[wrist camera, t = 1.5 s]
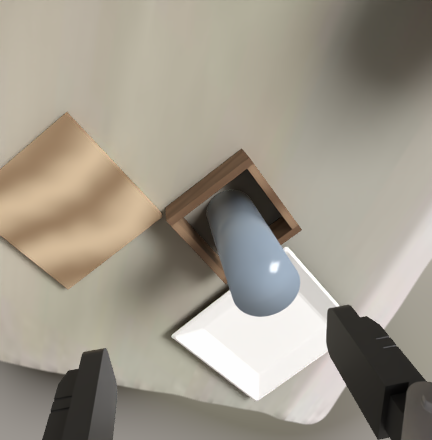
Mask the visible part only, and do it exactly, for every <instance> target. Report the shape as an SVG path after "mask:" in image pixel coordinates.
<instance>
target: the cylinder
mask: <svg viewBox="0 0 432 440" xmlns="http://www.w3.org/2000/svg"><path fill="white" fill-rule="evenodd" d="M206 216H207V220H208V223H209V227H210V230H211V233H212V236H213V239H214V242H215V245H216V248H217V251H218V255H219V258H220V261H221V264H222V267H223V270H224V273H225V276H226V279H227V283H228V286H229V289H230V292H231V295H232V298H233V301H234V303H235V305H236V306H237V307H238V309H240V310H241V311H242V312H244V313H246V314H248V315H251V316H256V317H265V316H270V315H274V314H276V313H279V312H281V311H282V310H284V309H285V308H287V307H288V306H289V305H290V304H291V303H292V302H293V301H294V299H295V298H296V296H297V294H298V292H299V289H300V276H299V274H298V271H297V270H296V268H295V267H294V265H293V264H292V262H291V260H290V259H289V257H288V256H287V254H286V253H285V251H284V250H283V248H282V247H281V245H280V243H279V242H278V240H277V239H276V237H275V236H274V234H273V233H272V231H271V230H270V228H269V226H268V225H267V223H266V222H265V220H264V219H263V217H262V216H261V214H260V213H259V211H258V209H257V208H256V206H255V205H254V203H253V202H252V200H251V199H250V197H249V196H248V195H247V194H245V193H244V192H242V191H239V190H226V191H223V192H220V193H219V194H217V195H216V196H214V197H213V198H212V200H211V201H210V203H209V204H208V207H207V212H206Z"/></svg>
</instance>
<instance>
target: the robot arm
mask: <svg viewBox="0 0 432 440" xmlns="http://www.w3.org/2000/svg"><path fill="white" fill-rule="evenodd" d="M326 344H327V349H328V352H329V355H330V357H331V359H332V361H333V362H334V364H335V366H336V368H337V369H338V371H339V373H340V375H341V376H342V378H343V380H344V382H345V383H346V385H347V387H348V388H349V390H350V392H351V393H352V395H353V397H354V399H355V401H356V402H357V404H358V406H359V408H360V409H361V411H362V413H363V415H364V416H365V418H366V420H367V422H368V423H369V425H370V427H371V428H372V430H373V432H374V434H375V436H376V437H377V439H378V440H379V439H384V438H389V437H390V438H391V440H432V382H427V381H426V380H425V379H424V378H423V377H422V375H421V374H420V373H419V372H418V371H417V369H416V368H415V367H414V366H413V365H412V364H411V362H410V361H409V360H408V359H407V357H406V356H405V355H404V354H403V353H402V351H401V350H400V349H399V348H398V347H397V346H396V344H395V343H394V342H393V340H392V339H391V338H389V336H388V334H387V333H386V332H385V331H384V329H383V328H382V327H381V326H380V325H379V324H378V323H376V322H375V321H373V320H372V319H370V318H368V317H367V316H366V317H359V316H358V314H357V313H356V312H355V310H354V309H353V308H352V307H351V306H350V305H344V306H338V307H333V308H329V309H328V311H327V329H326ZM116 403H117V384H116V379H115V375H114V372H113V368H112V365H111V361H110V358H109V354H108V351H107V349H106V348H104V349H98V350H92V351H87V352H83V354H82V357H81V361H80V365H79V369H75V370H70V371H68V372H67V373H66V375H65V376H64V377H63V379H62V380H61V382H60V383H59V384H58V388H57V391H56V394H55V398H54V402H53V405H52V408H51V414H50V415H49V419H48V422H47V426H46V429H45V432H44V436H43V439H42V440H113V431H114V422H115V413H116Z"/></svg>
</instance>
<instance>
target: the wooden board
mask: <svg viewBox="0 0 432 440" xmlns="http://www.w3.org/2000/svg"><path fill="white" fill-rule="evenodd" d="M160 218H162V213H161V212H160V211H159V210H158V209H157V207H156V206H155V205H154V204H153V203H152V202H151V201H150V200H149V199H148V198H147V197H146V196H145V195H144V194H143V193H142V191H141V190H140V189H139V188H138V187H137V186H136V185H135V184H134V183H133V182H132V181H131V180H130V179H129V178H128V177H127V175H126V174H125V173H124V172H123V171H122V170H121V169H120V168H119V167H118V166H117V165H116V164H115V163H114V162H113V161H112V159H111V158H110V157H109V156H108V155H107V154H106V153H105V152H104V151H103V150H102V149H101V148H100V147H99V146H98V145H97V143H96V142H95V141H94V140H93V139H92V138H91V137H90V136H89V135H88V134H87V133H86V132H85V131H84V130H83V129H82V127H81V126H80V125H79V124H78V123H77V122H76V121H75V120H74V119H73V118H72V117H71V116H70V115H69V114H68V113H67V112H66V113H65V114H64V115H63V116H62V117H61V118H59V119H58V120H57V121H56V122H55V123H54V124H52V125H51V126H50V127H49V128H48V129H47V130H45V131H44V132H43V133H42V134H41V135H40V136H38V137H37V138H36V139H35V140H34V141H33V142H31V143H30V144H29V145H28V146H27V147H26V148H24V149H23V150H22V151H21V152H20V153H19V154H18V155H16V156H15V157H14V158H13V159H12V160H11V161H9V162H8V163H7V164H6V165H5V166H4V167H2V168H1V169H0V235H1V236H2V237H3V238H4V239H6V240H7V241H8V242H9V243H11V244H12V245H13V246H14V247H16V248H17V249H18V250H19V251H21V252H22V253H23V254H24V255H26V256H27V257H28V258H29V259H31V260H32V261H33V262H34V263H36V264H37V265H38V266H39V267H41V268H42V269H43V270H44V271H46V272H47V273H48V274H49V275H51V276H52V277H53V278H54V279H56V280H57V281H58V282H59V283H61V284H62V285H63V286H64V287H66V288H67V289H69V288H71V287H72V286H73V285H75V284H76V283H77V282H79V281H80V280H81V279H82V278H84V277H85V276H86V275H88V274H89V273H90V272H92V271H93V270H94V269H95V268H97V267H98V266H99V265H101V264H102V263H103V262H105V261H106V260H107V259H108V258H110V257H111V256H112V255H114V254H115V253H116V252H118V251H119V250H120V249H121V248H123V247H124V246H125V245H127V244H128V243H129V242H131V241H132V240H133V239H134V238H136V237H137V236H138V235H140V234H141V233H142V232H144V231H145V230H146V229H147V228H149V227H150V226H151V225H153V224H154V223H155V222H157V221H158V220H159V219H160Z"/></svg>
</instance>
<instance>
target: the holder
mask: <svg viewBox="0 0 432 440" xmlns="http://www.w3.org/2000/svg"><path fill="white" fill-rule="evenodd" d="M246 169H248V171H249V172H250V173H251V175H252V176H253V177H254V179H255V180H256V181H257V183H258V184H259V185H260V187H261V188H262V189H263V191H264V192H265V194H266V195H267V196H268V198H269V199H270V200H271V202H272V203H273V204H274V206H275V207H276V208H277V210H278V211H279V212H280V214H281V215H282V217H281V218H279V219H278V220H277V221H275V222H274V223H272V224H271V225H270V226H269V228H270V230H271V231H272V233H273V234H274V236H275V237H276V239H277V240H278V242H279V243H280V245H282V244H283V243H284V242H286V241H287V240H289V239H290V238H291V237H293V236H294V235H296V234H297V233H298V232H300V231H301V230H302V229H301V228H300V227H299V225H298V224H297V222H296V221H295V220H294V218H293V217H292V216H291V214H290V213H289V211H288V210H287V209H286V207H285V206H284V205H283V203H282V202H281V200H280V199H279V198H278V196H277V195H276V194H275V192H274V191H273V189H272V188H271V187H270V185H269V184H268V183H267V181H266V180H265V178H264V177H263V176H262V174H261V173H260V172H259V170H258V169H257V167H256V166H255V165H254V163H253V162H252V161H251V159H250V158H249V157H248V155H247V154H246V153H245V152H244V151H243V150H242V149H241V150H239V151H238V152H237V153H235V154H234V155H233V156H232V157H230V158H229V159H228V160H226V161H225V162H224V163H223V164H221V165H220V166H219V167H217V168H216V169H215V170H213V171H212V172H211V173H210V174H208V175H207V176H206V177H204V178H203V179H202V180H200V181H199V182H198V183H197V184H195V185H194V186H193V187H191V188H190V189H189V190H188V191H186V192H185V193H184V194H182V195H181V196H180V197H178V198H177V199H176V200H175V201H173V202H172V203H171V204H169V205H168V206H167V207H166V208H165V211H166V221H167V222H168V223H169V224H170V225H171V227H172V228H173V229H174V230H175V231H176V232H177V233H178V234H179V235H180V236H181V237H182V238H183V239H184V240H185V241H186V242H187V244H188V245H189V246H190V247H191V248H192V249H193V250H194V251H195V252H196V253H197V254H198V255H199V256H200V257H201V258H202V259H203V261H204V262H205V263H206V264H207V265H208V266H209V267H210V268H211V269H212V270H213V271H214V272H215V273H216V274H217V275H218V276H219V277H220V279H221V280H222V281H223V282H224V283H225V284H227V279H226V276H225V273H224V270H223V267H222V264H221V261H220V258H219V256H218V255H217V254H216V253H215V252H214V251H213V249H212V248H211V247H210V246H209V245H208V244H207V243H206V242H205V241H204V240H203V238H202V237H201V236H200V235H199V234H198V233H197V232H196V231H195V230H194V228H193V227H192V226H191V225H190V224H189V223H188V222H187V221H186V220H185V219H184V216H186V215H187V214H188V213H190V212H191V211H192V210H194V209H195V208H196V207H197V206H199V205H200V204H201V203H203V202H204V201H205V200H207V199H208V198H209V197H211V196H212V195H213V194H215V193H216V192H217V191H218V190H220V189H221V188H222V187H224V186H225V185H226V184H228V183H229V182H230V181H232V180H233V179H234V178H236V177H237V176H238V175H240V174H241V173H242V172H243V171H245V170H246Z"/></svg>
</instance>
